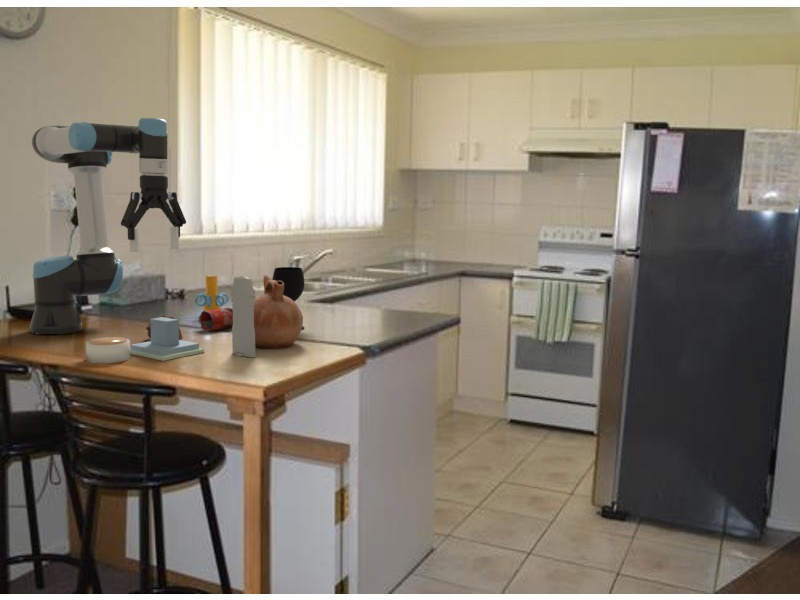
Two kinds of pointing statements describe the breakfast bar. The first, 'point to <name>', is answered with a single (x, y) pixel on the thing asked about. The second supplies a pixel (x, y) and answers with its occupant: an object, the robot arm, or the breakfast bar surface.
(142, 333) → the breakfast bar surface
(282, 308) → the jug
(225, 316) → the beverage can
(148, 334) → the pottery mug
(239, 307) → the tall pale column
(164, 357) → the mat
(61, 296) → the robot arm
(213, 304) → the yellow blue looped rod
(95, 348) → the bowl
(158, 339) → the lid
